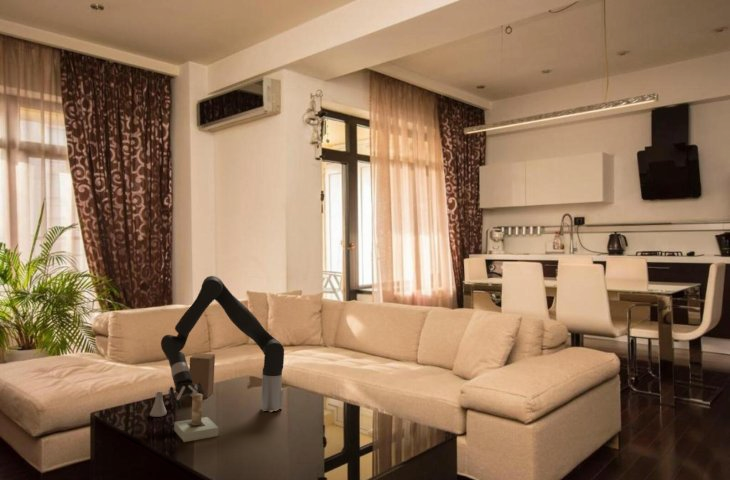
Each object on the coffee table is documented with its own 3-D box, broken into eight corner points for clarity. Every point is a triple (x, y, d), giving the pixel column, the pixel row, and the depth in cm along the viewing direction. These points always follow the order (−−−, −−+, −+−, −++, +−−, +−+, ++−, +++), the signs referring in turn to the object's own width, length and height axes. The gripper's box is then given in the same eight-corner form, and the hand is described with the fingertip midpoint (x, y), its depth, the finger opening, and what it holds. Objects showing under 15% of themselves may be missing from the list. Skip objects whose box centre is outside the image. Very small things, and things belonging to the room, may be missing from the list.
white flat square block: (206, 424, 237) (207, 416, 237) (218, 435, 226) (218, 427, 226) (174, 430, 229) (174, 422, 229) (184, 441, 218) (184, 433, 218)
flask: (160, 418, 242) (161, 395, 242) (146, 416, 244) (147, 394, 244) (169, 412, 249) (170, 391, 249) (155, 411, 251) (156, 389, 251)
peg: (199, 430, 230) (200, 393, 230) (202, 433, 227) (204, 395, 227) (189, 432, 228) (191, 394, 228) (192, 435, 225) (194, 397, 224)
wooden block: (207, 398, 273) (209, 358, 272) (187, 397, 273) (189, 357, 273) (213, 392, 283) (215, 354, 282) (194, 391, 283) (196, 352, 283)
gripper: (167, 372, 234) (176, 406, 226) (199, 368, 244) (209, 400, 235) (162, 381, 238) (171, 415, 230) (194, 377, 248) (203, 409, 239)
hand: (190, 407), depth 232 cm, fingers open, 8 cm apart
